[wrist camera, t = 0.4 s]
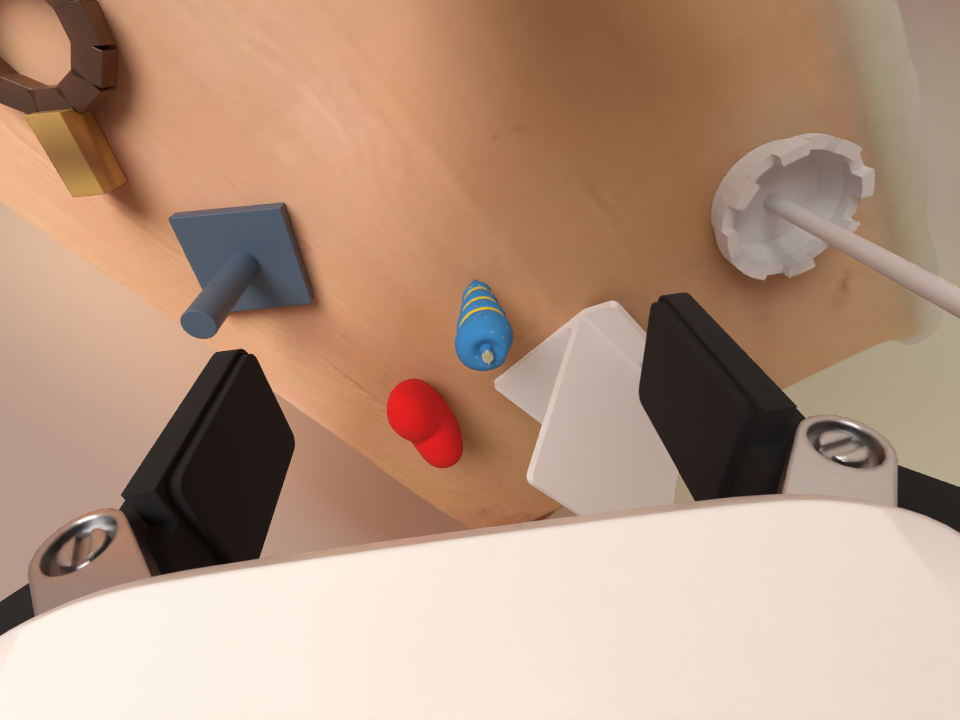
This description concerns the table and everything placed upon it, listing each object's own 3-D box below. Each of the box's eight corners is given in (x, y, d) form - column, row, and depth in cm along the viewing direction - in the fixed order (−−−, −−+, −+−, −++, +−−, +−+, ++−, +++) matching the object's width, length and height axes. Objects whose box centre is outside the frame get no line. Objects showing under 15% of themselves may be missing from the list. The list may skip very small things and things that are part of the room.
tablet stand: (603, 467, 70) (645, 576, 56) (490, 382, 58) (509, 495, 44) (710, 400, 63) (787, 505, 49) (608, 288, 51) (673, 386, 37)
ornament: (458, 307, 51) (467, 396, 39) (443, 267, 48) (447, 350, 36) (503, 293, 50) (526, 380, 38) (490, 252, 47) (511, 331, 35)
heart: (469, 406, 60) (475, 466, 52) (435, 424, 61) (435, 485, 53) (417, 345, 53) (415, 403, 45) (380, 366, 55) (371, 426, 47)
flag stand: (854, 189, 47) (1303, 370, 23) (740, 280, 52) (1006, 505, 28) (797, 93, 41) (1321, 200, 17) (675, 206, 46) (942, 411, 22)
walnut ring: (-109, -66, 30) (-166, -75, 27) (61, -80, 31) (23, -90, 28) (49, 189, 40) (19, 202, 37) (176, 177, 40) (156, 189, 38)
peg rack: (174, 212, 42) (95, 272, 32) (284, 202, 43) (239, 258, 33) (219, 306, 48) (164, 381, 38) (314, 297, 49) (284, 369, 39)
